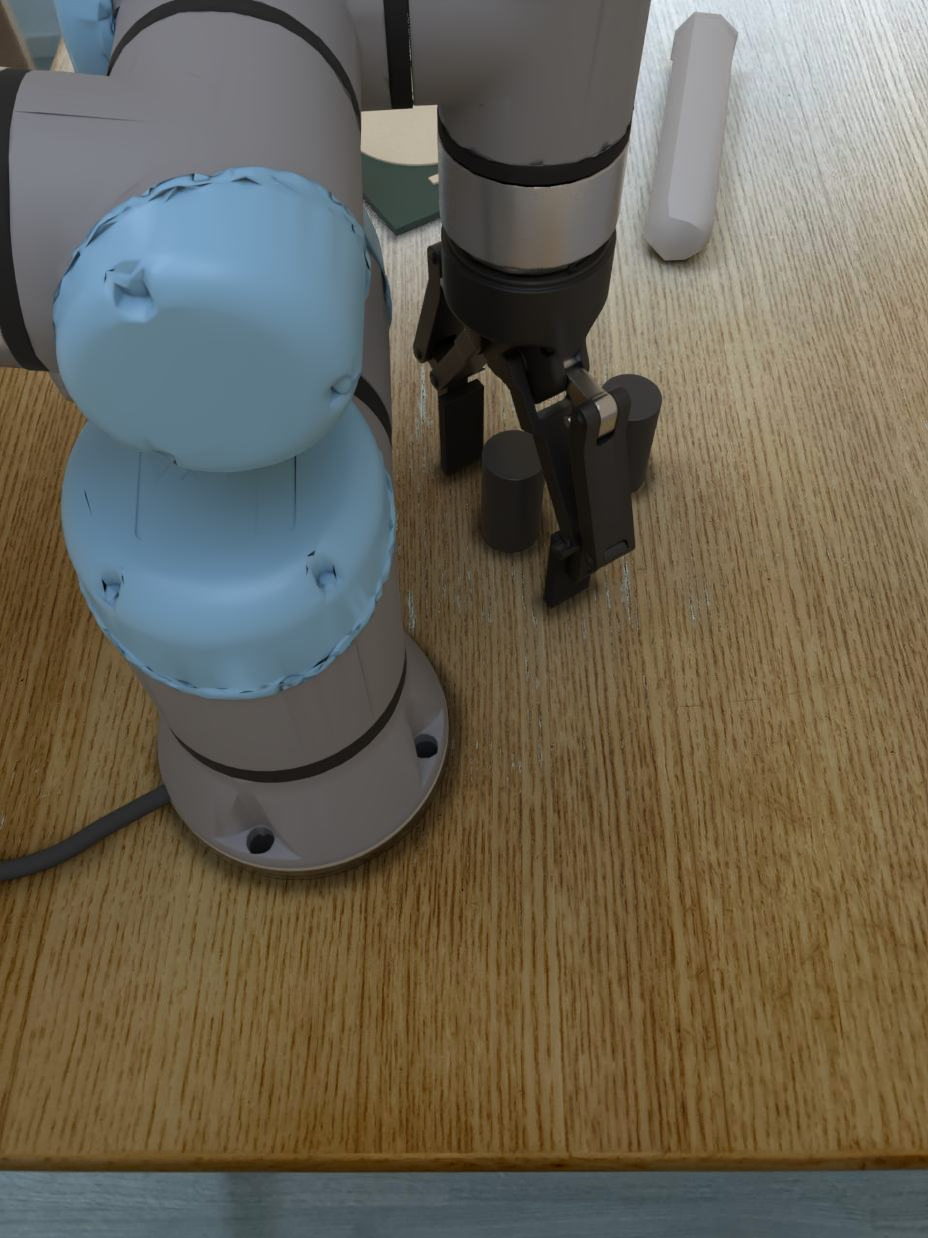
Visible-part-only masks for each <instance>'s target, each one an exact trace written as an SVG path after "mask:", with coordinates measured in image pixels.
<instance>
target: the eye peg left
mask: <svg viewBox="0 0 928 1238" xmlns="http://www.w3.org/2000/svg"><path fill="white" fill-rule="evenodd" d="M545 483H546V481H545V478H544V474H543V471H542V467H541V464H540V460H539V457H538V453H537V450H536V446H535V443H534V439H533V436H532V434H530V433H527V432H525V431H523V430H522V429H508V430H503V431H500V432H498V433H496V434H494V435H492V436H491V437H490V438H488V439H487V441H486V442H485V443H484V447H483V451H482V459H481V487H480V488H481V489H480V491H481V493H480V495H481V497H480V499H481V500H480V533H481V536H482V538H483V539H484V540H485V542H486V543H487V544H488V545H489V546H490V547H492V548H493V549H495V550H497V551H500V552H504V553H517V552H521V551H524V550H526V549H528V548H530V547H531V546H532V545H534V543H535V542H536V541H537V539H538V538H539V535H540V531H541V521H542V512H543V511H542V510H543V500H544V491H545Z"/></svg>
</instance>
